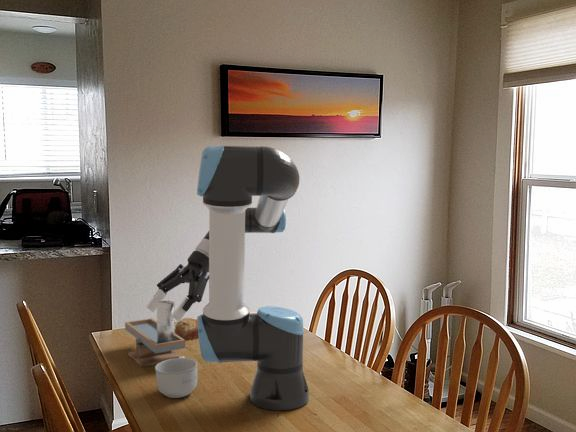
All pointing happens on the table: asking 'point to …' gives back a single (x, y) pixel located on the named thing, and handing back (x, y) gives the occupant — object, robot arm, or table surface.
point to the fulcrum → (150, 355)
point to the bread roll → (187, 329)
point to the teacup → (176, 376)
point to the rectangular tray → (152, 336)
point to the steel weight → (165, 322)
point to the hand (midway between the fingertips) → (162, 314)
